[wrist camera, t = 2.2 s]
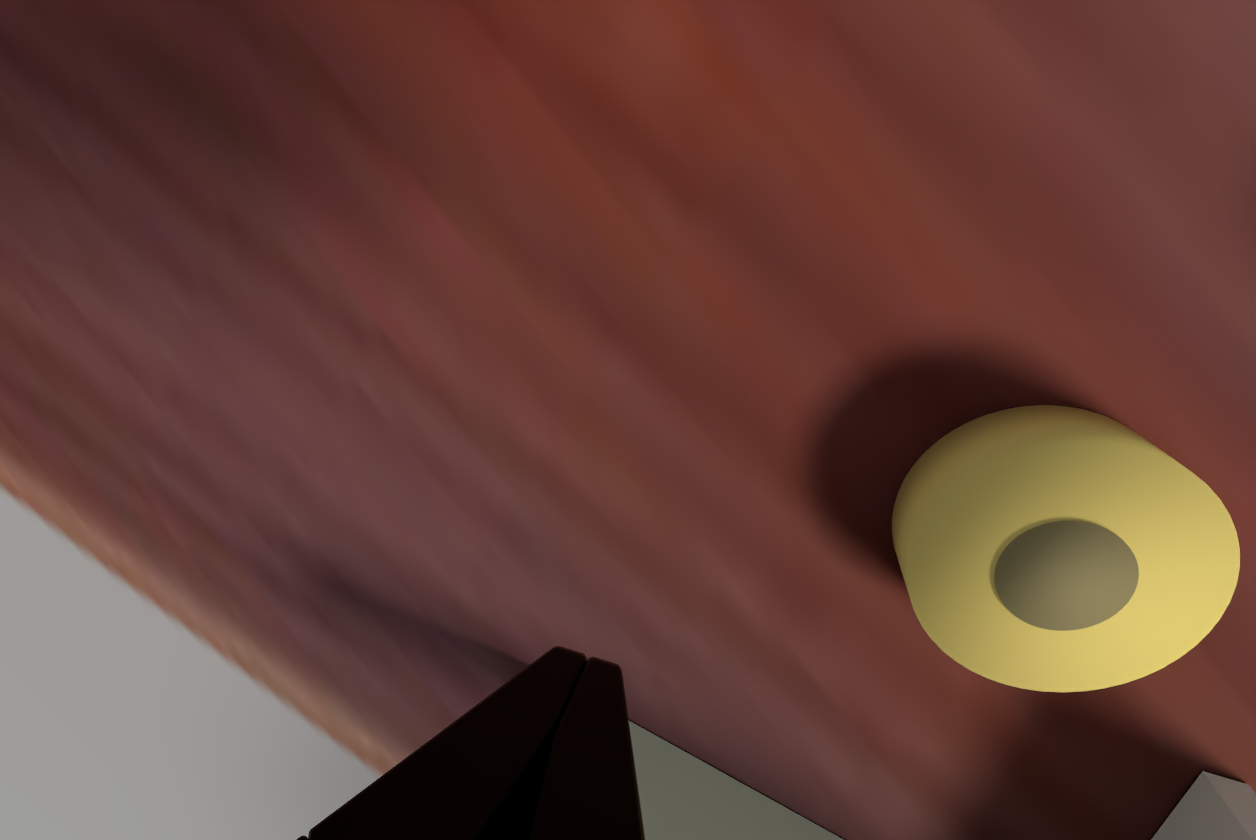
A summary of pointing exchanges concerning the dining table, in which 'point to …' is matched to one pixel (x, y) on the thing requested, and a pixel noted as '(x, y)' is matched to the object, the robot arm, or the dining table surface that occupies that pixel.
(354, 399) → the dining table surface
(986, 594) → the cord coil
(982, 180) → the dining table surface
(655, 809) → the cover
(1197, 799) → the white open pen
